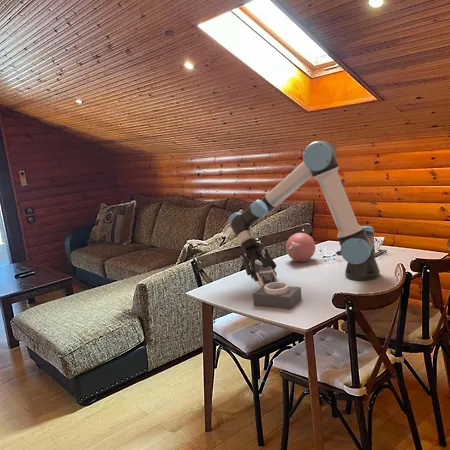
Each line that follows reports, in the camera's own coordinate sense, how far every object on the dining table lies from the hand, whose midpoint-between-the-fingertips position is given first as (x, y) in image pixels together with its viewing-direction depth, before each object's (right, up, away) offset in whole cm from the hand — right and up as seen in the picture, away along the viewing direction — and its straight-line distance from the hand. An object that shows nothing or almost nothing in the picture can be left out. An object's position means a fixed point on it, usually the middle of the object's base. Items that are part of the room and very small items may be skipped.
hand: (269, 284), depth 193 cm
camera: (0, +1, +33) cm, 33 cm away
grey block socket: (+2, -6, -10) cm, 12 cm away
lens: (0, -3, +4) cm, 5 cm away
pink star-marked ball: (+20, +6, +44) cm, 49 cm away
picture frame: (+54, +10, +48) cm, 74 cm away
